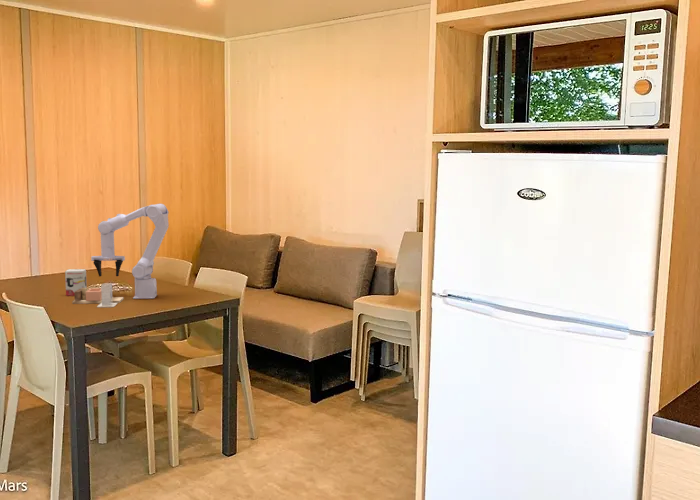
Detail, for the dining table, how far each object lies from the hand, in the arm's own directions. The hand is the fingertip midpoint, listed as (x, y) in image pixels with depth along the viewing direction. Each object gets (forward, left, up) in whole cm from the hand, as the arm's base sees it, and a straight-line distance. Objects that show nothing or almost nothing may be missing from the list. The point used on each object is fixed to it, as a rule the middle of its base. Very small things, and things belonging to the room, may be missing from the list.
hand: (108, 276), depth 304 cm
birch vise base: (+2, +12, -9) cm, 15 cm away
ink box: (+16, -4, -10) cm, 19 cm away
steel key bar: (-4, +21, -9) cm, 23 cm away
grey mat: (-4, +21, -9) cm, 23 cm away
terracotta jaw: (+3, +12, -8) cm, 15 cm away
